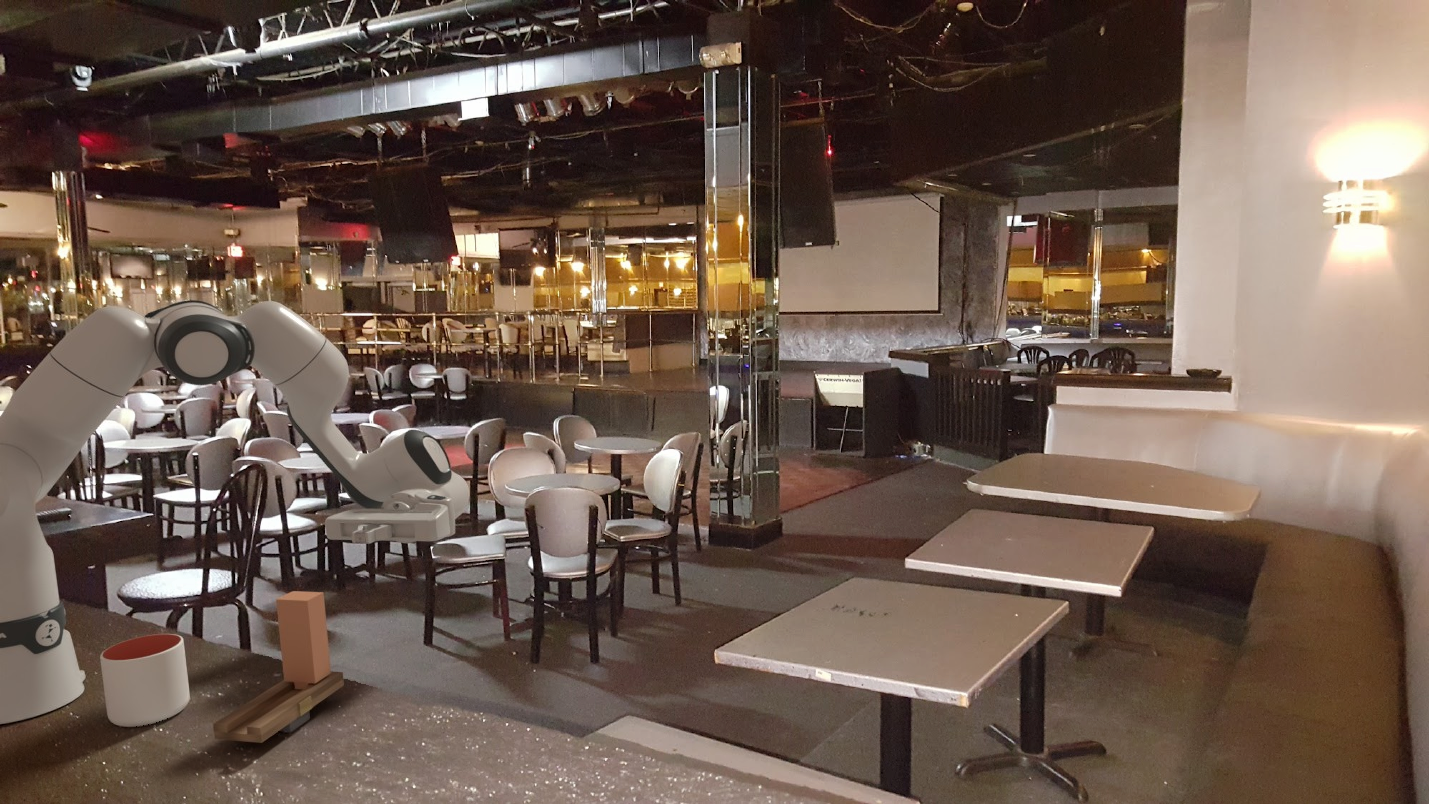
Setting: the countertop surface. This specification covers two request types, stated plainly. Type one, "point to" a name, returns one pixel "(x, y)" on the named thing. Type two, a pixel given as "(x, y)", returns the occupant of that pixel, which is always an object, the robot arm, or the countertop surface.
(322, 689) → the beam
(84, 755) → the countertop surface
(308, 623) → the plate
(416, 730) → the countertop surface
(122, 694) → the cup
